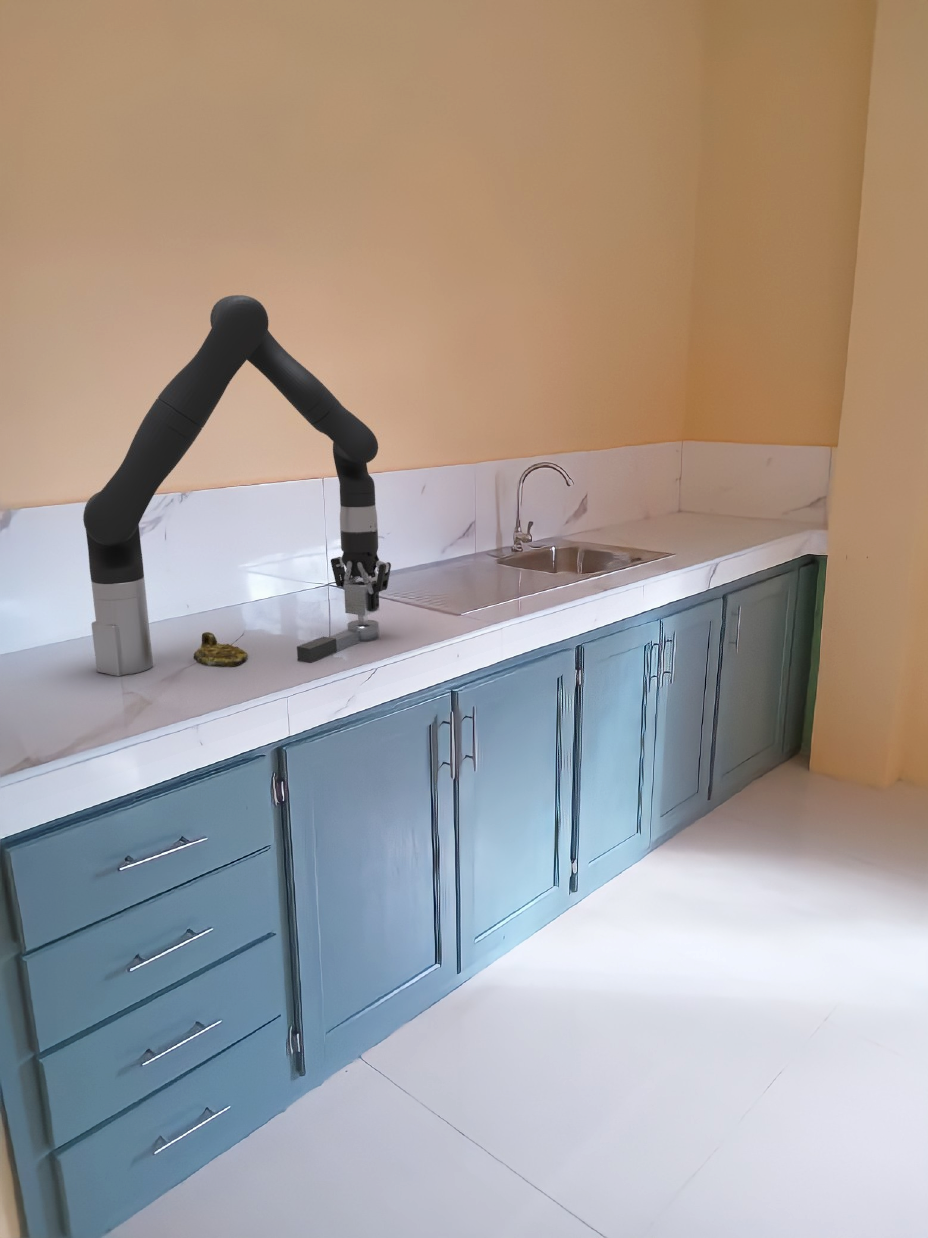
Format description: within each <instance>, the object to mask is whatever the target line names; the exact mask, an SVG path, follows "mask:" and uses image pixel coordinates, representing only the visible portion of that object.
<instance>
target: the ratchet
mask: <svg viewBox="0 0 928 1238" xmlns="http://www.w3.org/2000/svg"><path fill="white" fill-rule="evenodd" d="M379 625H380V623H379V622H378V621H377V620H373V619H369V618H368V615H366V616H363V615H357V619H354V620H352V621H349V622H348V623H347V629H345V630H343V631H340V632H338V633H334V634H333V635H329V636H321V637H318V638H316V639H313V640H310V641H308V642H306V643H303V644H300V645H298V646H296V654H297V661H298V662H304V663H310V664H311V663H313V662H317V661H318V660H322V659H324V658H326V657H328V656H329V657H330V656H332V655H333V654H336V653H338V652H339V651H342V650H345V649H347V648H349V647H351V646H354V645H356V644H359V643H362V642H363V643H366V642H372V641H376V640H379V638H380V628H379V627H380V626H379Z"/></svg>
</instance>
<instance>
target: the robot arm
mask: <svg viewBox="0 0 928 1238" xmlns="http://www.w3.org/2000/svg"><path fill="white" fill-rule="evenodd" d="M209 318H210V319H209V320H210V327H211V328H210V330H209V332H208V334H207V336H206V338H205V339H204V341H203V343H202V345H201V347H200V348H199V349H198V351H197V352H196V353H195V354H194V357H192V359H190V361H189V362H188V363H187V364H186V365H185V366H184V367H183V368H182V369H181V370H180V371H179V372H178V373H177V374H175V376H174V377H173V378H172V379H171V380H170V381H169V382H168V384H167V385H166V386H165V387H164V388H163V390H162V391H161V392H160V393H159V394H158V396H157V398H156V399H155V400H154V402H153V403H152V404H151V407H150V408H149V410H148V411H147V413H146V415H145V416H144V417H143V419H142V421H141V423H140V424H139V427H138V429H137V431H136V433H135V435H134V437H133V439H132V441H131V443H130V446H129V448H128V450H127V453H126V455H125V457H124V459H123V461H122V462H121V464H120V466H119V467H118V469H117V470H116V471H115V473H114V474H113V475H112V477H111V478H110V479H109V480H108V482H107V483H106V484H105V486H104V487H103V488H102V489H101V490H100V491H98V492H96V493H94V494H93V495H92V496H91V497H90V498H89V499H88V501H87V502H86V505H85V507H84V510H83V515H82V516H83V517H82V518H83V519H82V520H83V526H84V528H85V534H86V543H87V551H88V552H87V553H88V563H89V565H88V566H89V574H90V582H91V590H92V598H93V609H94V616H95V617H94V618H95V621H92V622H91V633H92V640H93V641H92V642H93V648H94V656H95V658H94V659H95V667H96V672H98V673H103V674H108V675H112V676H116V677H120V676H125V675H130V674H137V673H140V672H144V671H147V670H149V669H151V668H153V666H154V662H153V652H152V642H151V641H152V640H151V632H150V631H151V630H150V623H149V622H150V621H149V612H148V611H149V610H148V602H147V591H146V580H145V572H144V562H143V554H142V553H143V552H142V545H141V544H142V543H141V535H140V534H141V533H140V523H141V521H142V518H143V516H144V514H145V512H146V510H147V508H148V507H149V505H150V503H151V501H152V499H153V498H154V495H155V494H156V492H157V490H158V489H159V487H160V486H161V485H162V484H163V482H164V480H166V478H167V477H168V476H169V475H170V474H171V472H172V471H173V470H174V469H175V468H176V467H177V465H178V464H179V462H180V461H181V460H182V459H183V457H184V456H185V455H186V453H187V452H188V450H190V448H191V446H192V445H193V443H194V442H195V441H196V439H197V437H199V434H200V433H201V431H202V430H203V428H204V427H205V425H206V424H207V422H208V420H209V418H210V417H211V415H212V413H213V412H214V410H215V409H216V407H217V405H218V404H219V402H220V400H221V398H222V397H223V395H224V393H225V391H226V389H227V387H228V386H229V384H230V382H231V381H232V379H233V378H234V377H235V375H236V374H237V373H238V371H239V370H240V369H241V368H242V367H243V365H244V364H245V362H246V361H247V362H249V363H250V364H251V365H252V366H253V367H254V368H255V369H257V370H258V371H259V372H260V373H261V374H262V375H264V377H265V378H266V379H267V380H268V381H270V383H271V384H272V385H273V386H274V387H275V388H276V389H277V390H278V391H279V392H280V393H281V394H282V396H283V397H284V398H285V399H286V400H287V401H288V402H289V404H291V406H293V408H294V409H295V410H296V411H297V412H298V413H299V414H300V415H301V416H302V417H303V418H304V419H305V420H306V421H307V422H308V423H309V424H310V426H311V427H312V428H314V429H315V430H316V431H318V432H319V433H321V434H324V435H326V436H327V437H328V438H329V439H330V440H331V441H332V456H333V462H334V466H335V471H336V476H337V477H338V478H337V479H338V482H339V502H340V505H339V506H340V509H339V510H340V512H339V528H340V529H339V530H340V549H341V551H342V552H343V553H342V555H341V556H337V557H334V558H331V559H330V564H331V570H332V573H333V576H334V583H335V585H336V587H338V588H342V590H344V584H347V583H351V582H355V581H357V580H359V578H361V579H362V580H363V581H364V583H365V584H366V585H367V586H368V591H369V593H370V594H368V600H369V611H371V612H373V611H376V610H377V609H378V608H379V609H380V592H383V591H386V590H387V589H388V586H389V580H390V574H391V568H392V565H391V564H392V563H391V562H389V561H388V562H384V561H381V560H380V558H379V555H378V550H379V533H378V531H379V530H378V513H377V507H376V486H375V485H376V484H375V481H374V479H373V477H372V476H371V475H370V474H369V472H368V471H369V470H368V465H367V464H368V463H370V462H371V461H373V460H374V459H375V458H376V456H377V454H378V450H379V443H378V439H377V437H376V435H375V433H374V432H373V431H372V430H371V429H370V427H368V426H367V424H366V423H364V422H363V421H362V420H360V419H359V418H358V416H356V415H355V414H353V413H352V412H351V411H349V410H348V409H347V408H346V407H345V406H344V405H342V403H341V402H340V401H339V400H338V398H337V397H336V396H335V395H334V394H333V393H332V392H331V391H330V390H329V389H328V388H327V386H326V385H324V384H323V382H321V380H320V379H318V378H317V377H316V376H315V375H314V374H313V373H312V372H310V371H309V370H308V369H307V368H306V367H304V365H302V364H301V363H300V362H299V361H298V360H296V358H295V357H293V356H292V355H291V354H290V353H288V351H286V349H284V347H283V346H281V344H280V343H279V342H278V341H277V340H276V339H275V337H274V336H273V335H272V334H271V332H270V331H269V316H268V313H267V310H266V308H265V307H264V305H263V304H262V303H261V302H260V301H259V300H258V299H256V298H254V297H251V296H248V295H243V294H237V295H234V294H233V295H229V296H225V297H222V298H221V299H219V300H218V301H217V302H216V303H215V304H214V305H213V307H212V309H211V311H210V317H209Z"/></svg>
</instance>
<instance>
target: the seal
mask: <svg viewBox="0 0 928 1238" xmlns="http://www.w3.org/2000/svg"><path fill="white" fill-rule="evenodd" d="M248 657H249V656H248V653H247V651H245V650H243V649H242V648H239V646H234V645H232V644H229V643H225V644H220V643H218V640H217V638H216V636H215V634H214V633H212V632H209V631H207V632H203V633H202V634H201V645H200V647H199V648H198V649H197V650H196V651H195V652H194V653H193V660H195V661H197V662H198V664H201V665H204V666H208V667H217V668H219V667H220V668H227V667H228V668H232V667H237V666H240V665H241V664H242V663H243V664H244V663H246V662H247V660H248Z"/></svg>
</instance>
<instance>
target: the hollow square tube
mask: <svg viewBox="0 0 928 1238" xmlns="http://www.w3.org/2000/svg"><path fill="white" fill-rule="evenodd" d="M343 593H344V608H345V609H344V610H345V611H344V612H345V614H349V615H355V616H358V615H363V616H366V615H367V616H368V615H371V614H374V613H377V612H379V611H380V607H379V608H378V609H377V610H376V611H373V612H371V611H369V600H368V594H370V593H369V591H368V586H367V585H366V584H365V583H364V581H363V579H357V580H356V581H355V582H351V583H347V584H344V589H343Z"/></svg>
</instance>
